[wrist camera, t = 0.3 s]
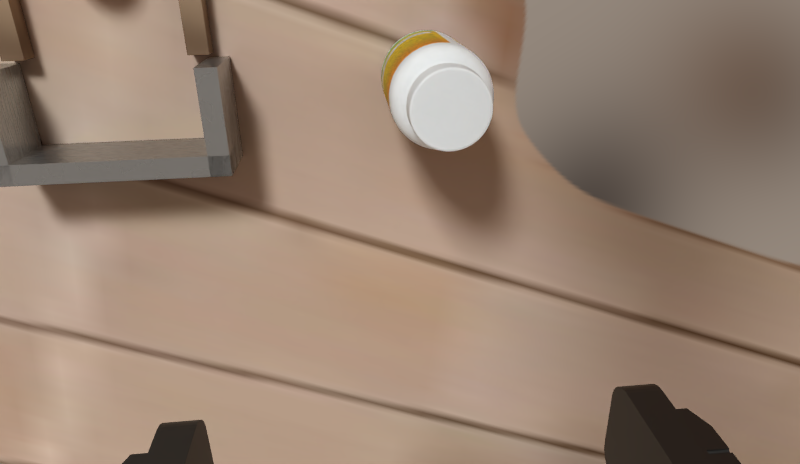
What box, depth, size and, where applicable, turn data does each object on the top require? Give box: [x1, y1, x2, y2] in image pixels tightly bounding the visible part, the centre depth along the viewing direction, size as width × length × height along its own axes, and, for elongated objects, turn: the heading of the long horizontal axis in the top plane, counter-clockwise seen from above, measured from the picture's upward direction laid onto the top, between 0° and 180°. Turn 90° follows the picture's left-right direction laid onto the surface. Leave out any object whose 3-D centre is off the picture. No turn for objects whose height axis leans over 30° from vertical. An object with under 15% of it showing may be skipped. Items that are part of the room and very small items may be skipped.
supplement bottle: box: [381, 30, 494, 152], centre depth 32 cm, size 5×5×10 cm
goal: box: [0, 56, 243, 187], centre depth 34 cm, size 6×13×4 cm, turn 91°
